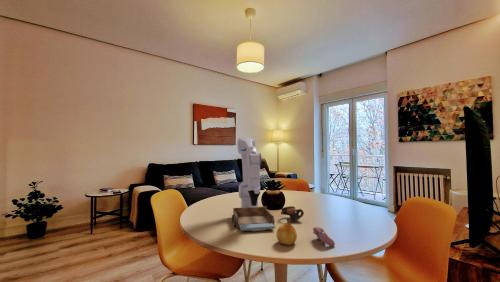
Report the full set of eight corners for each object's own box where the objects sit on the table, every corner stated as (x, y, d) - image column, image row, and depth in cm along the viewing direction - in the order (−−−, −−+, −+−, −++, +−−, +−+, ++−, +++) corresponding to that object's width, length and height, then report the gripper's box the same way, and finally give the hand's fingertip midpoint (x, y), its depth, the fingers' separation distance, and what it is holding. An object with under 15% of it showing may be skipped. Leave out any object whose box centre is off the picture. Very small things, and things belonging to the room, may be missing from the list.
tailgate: (271, 222, 112) (274, 226, 106) (271, 226, 111) (274, 230, 106) (239, 224, 109) (241, 228, 103) (239, 228, 109) (241, 232, 103)
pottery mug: (281, 223, 118) (278, 207, 122) (284, 226, 126) (281, 211, 130) (305, 219, 115) (301, 203, 120) (306, 222, 123) (303, 207, 127)
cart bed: (267, 217, 126) (267, 206, 126) (275, 226, 112) (275, 213, 113) (231, 219, 123) (231, 208, 123) (234, 228, 109) (234, 215, 109)
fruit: (301, 242, 88) (296, 220, 92) (280, 244, 87) (276, 222, 91) (296, 245, 95) (292, 225, 99) (277, 248, 94) (274, 227, 98)
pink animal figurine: (316, 241, 99) (309, 226, 99) (325, 235, 99) (318, 221, 99) (326, 251, 89) (318, 235, 89) (336, 245, 89) (328, 229, 89)
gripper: (243, 175, 121) (243, 202, 121) (248, 180, 107) (248, 209, 107) (256, 175, 122) (256, 201, 122) (263, 179, 108) (263, 209, 108)
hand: (253, 205), depth 114 cm, fingers closed
